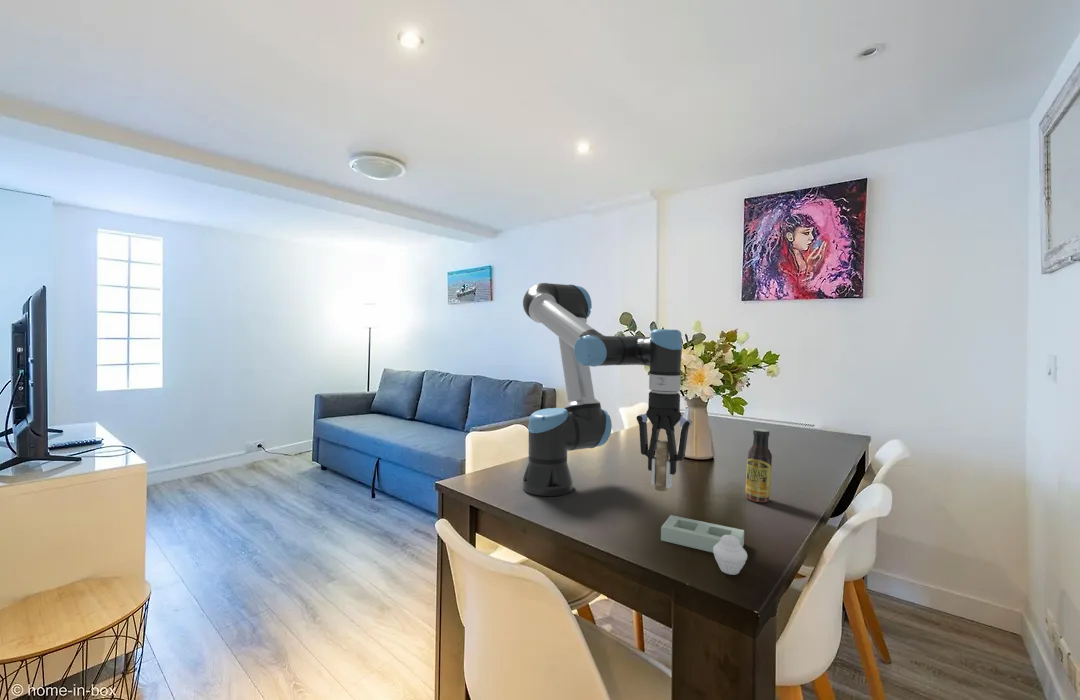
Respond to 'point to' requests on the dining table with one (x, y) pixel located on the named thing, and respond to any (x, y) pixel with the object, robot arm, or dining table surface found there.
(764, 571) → the dining table surface
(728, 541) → the muffin
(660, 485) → the peg
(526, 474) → the robot arm
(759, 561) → the dining table surface
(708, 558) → the dining table surface
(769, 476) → the sauce bottle
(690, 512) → the dining table surface
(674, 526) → the hole block
